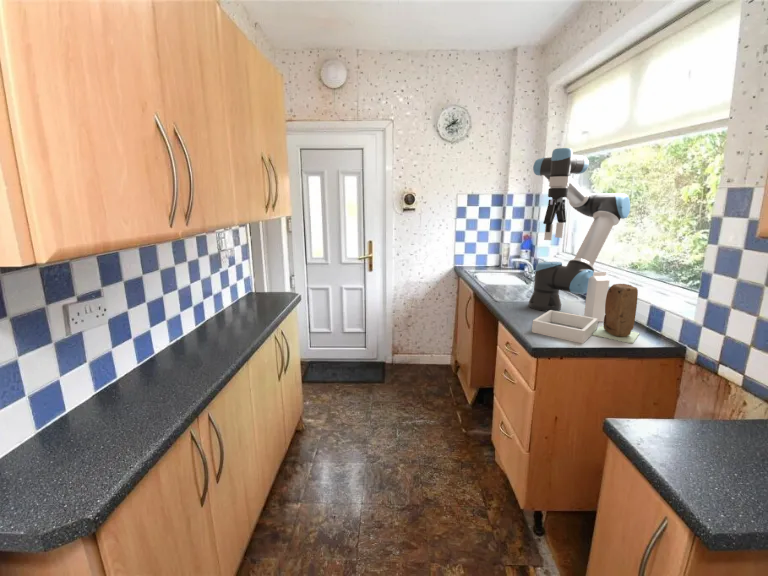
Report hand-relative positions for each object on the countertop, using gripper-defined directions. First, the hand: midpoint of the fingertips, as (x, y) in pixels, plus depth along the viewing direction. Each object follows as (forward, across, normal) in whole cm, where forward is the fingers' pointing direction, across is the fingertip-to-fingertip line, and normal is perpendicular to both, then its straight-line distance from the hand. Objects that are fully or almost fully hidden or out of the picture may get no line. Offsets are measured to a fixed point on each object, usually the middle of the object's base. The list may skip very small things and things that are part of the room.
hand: (553, 238), depth 166 cm
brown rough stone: (+36, 0, +28) cm, 46 cm away
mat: (+37, 0, +28) cm, 46 cm away
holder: (+37, +9, +11) cm, 39 cm away
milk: (+37, -16, +16) cm, 43 cm away
